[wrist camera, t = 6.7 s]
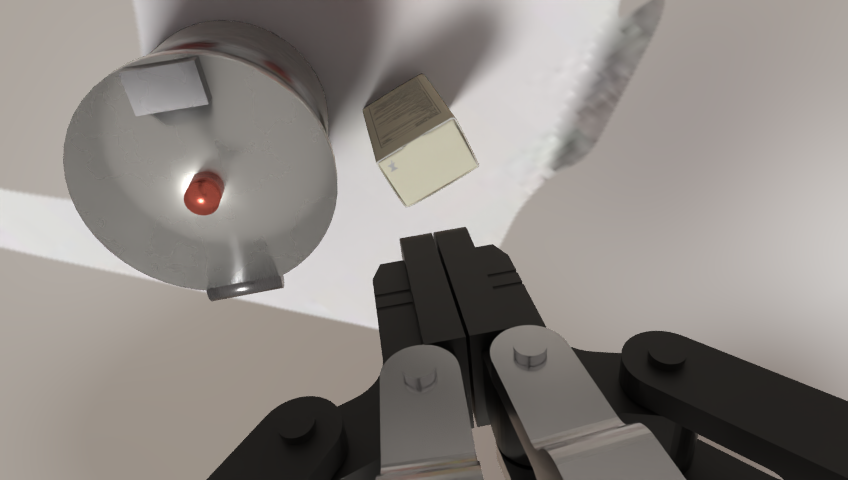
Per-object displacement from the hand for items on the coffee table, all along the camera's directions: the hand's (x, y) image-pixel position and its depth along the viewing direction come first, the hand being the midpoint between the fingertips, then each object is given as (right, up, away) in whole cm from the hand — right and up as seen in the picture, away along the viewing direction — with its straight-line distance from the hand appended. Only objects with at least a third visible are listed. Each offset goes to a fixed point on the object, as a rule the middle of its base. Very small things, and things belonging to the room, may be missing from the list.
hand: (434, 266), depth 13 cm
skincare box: (-2, +12, +36) cm, 38 cm away
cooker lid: (-14, +4, +23) cm, 28 cm away
